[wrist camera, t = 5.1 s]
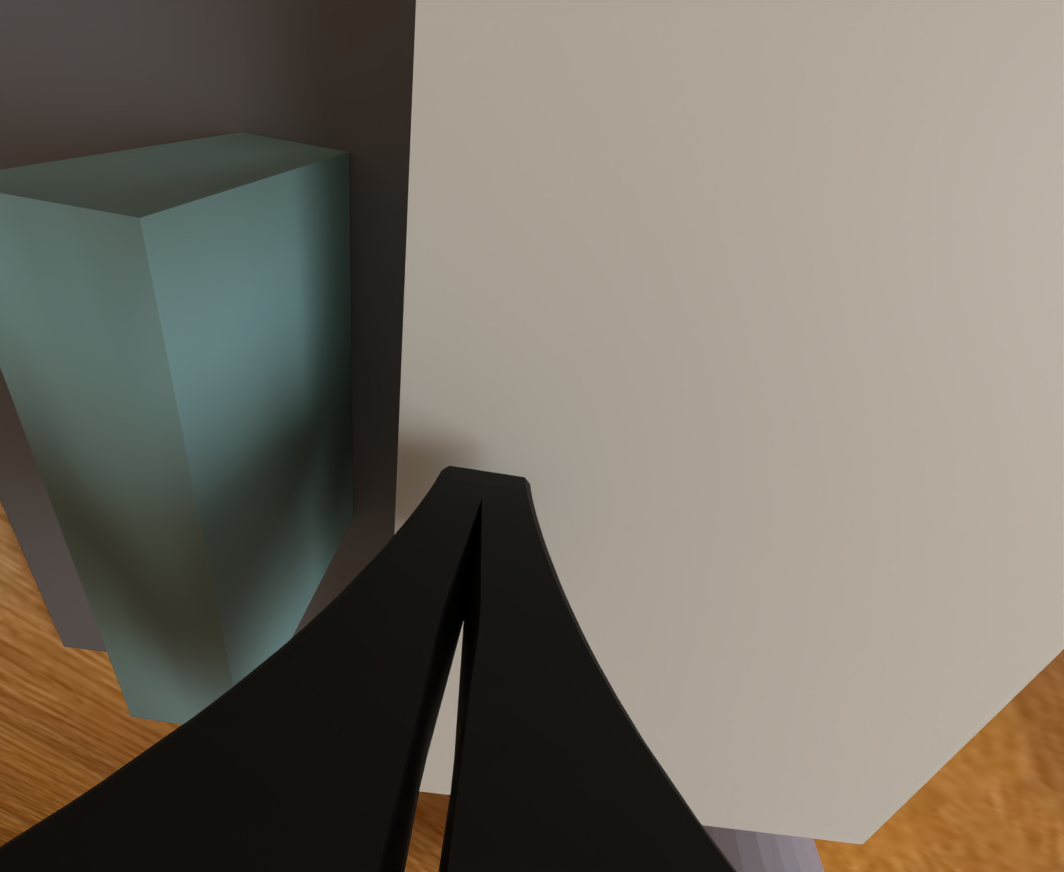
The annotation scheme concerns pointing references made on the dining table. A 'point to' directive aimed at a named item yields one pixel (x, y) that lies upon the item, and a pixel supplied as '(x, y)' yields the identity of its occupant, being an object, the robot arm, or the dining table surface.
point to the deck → (756, 366)
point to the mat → (212, 110)
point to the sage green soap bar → (186, 393)
